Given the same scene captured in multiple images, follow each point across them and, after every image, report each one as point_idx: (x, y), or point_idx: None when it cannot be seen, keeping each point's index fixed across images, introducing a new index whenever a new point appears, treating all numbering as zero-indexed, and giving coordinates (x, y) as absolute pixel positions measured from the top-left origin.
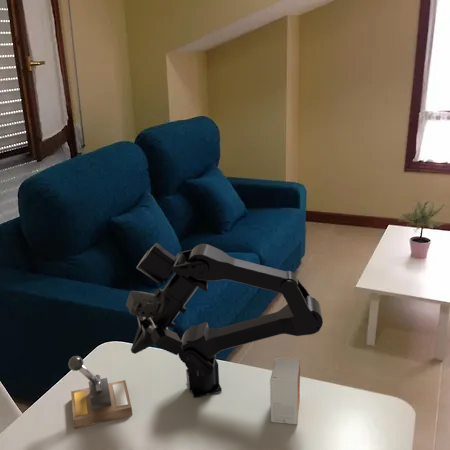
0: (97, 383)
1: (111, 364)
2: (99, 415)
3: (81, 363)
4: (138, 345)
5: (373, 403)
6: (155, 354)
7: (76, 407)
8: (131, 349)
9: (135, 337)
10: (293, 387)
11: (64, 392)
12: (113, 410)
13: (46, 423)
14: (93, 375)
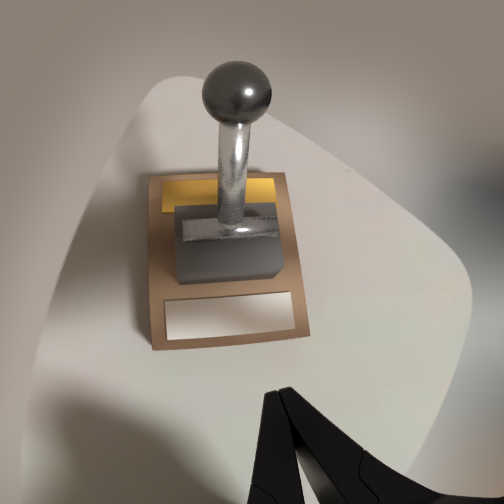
0: (218, 222)
1: (410, 291)
2: (148, 247)
3: (215, 105)
4: (258, 459)
5: None
6: (428, 413)
7: (200, 182)
8: (285, 393)
9: (345, 443)
10: None
11: (310, 169)
12: (152, 290)
13: (196, 133)
14: (229, 194)
